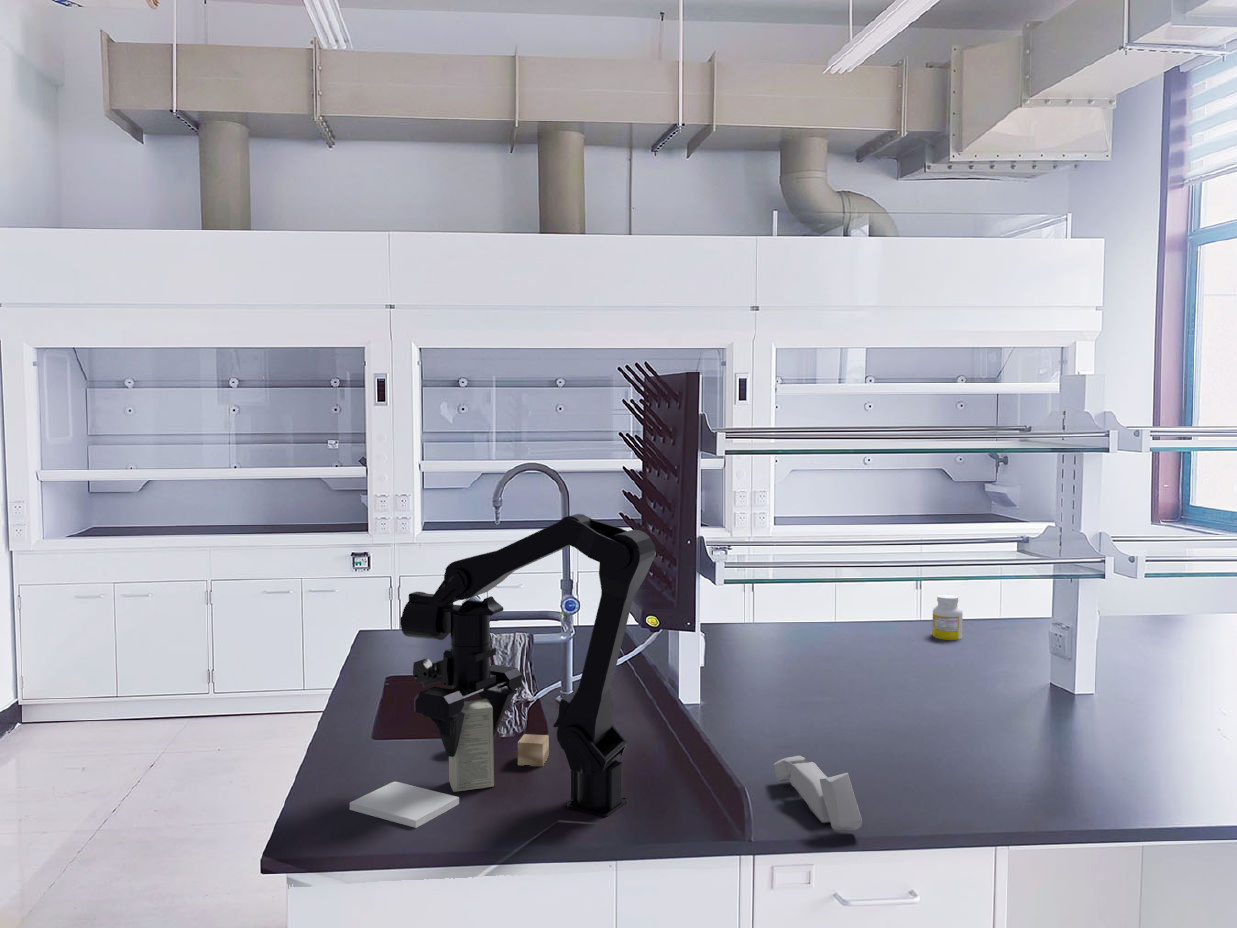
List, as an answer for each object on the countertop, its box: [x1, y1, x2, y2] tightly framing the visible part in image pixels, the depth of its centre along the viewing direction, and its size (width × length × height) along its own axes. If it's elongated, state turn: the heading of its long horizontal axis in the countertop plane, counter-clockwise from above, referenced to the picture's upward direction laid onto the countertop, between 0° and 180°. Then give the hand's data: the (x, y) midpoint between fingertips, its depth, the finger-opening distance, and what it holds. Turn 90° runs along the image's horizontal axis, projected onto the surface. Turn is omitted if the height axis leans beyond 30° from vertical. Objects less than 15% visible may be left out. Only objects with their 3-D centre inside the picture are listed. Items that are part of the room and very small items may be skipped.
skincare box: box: [448, 698, 495, 793], centre depth 142 cm, size 6×4×12 cm
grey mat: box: [349, 781, 460, 829], centre depth 134 cm, size 12×9×1 cm
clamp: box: [773, 755, 863, 832], centre depth 134 cm, size 20×4×7 cm, turn 15°
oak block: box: [517, 733, 550, 767], centre depth 151 cm, size 4×4×4 cm
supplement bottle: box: [931, 594, 964, 641], centre depth 225 cm, size 7×7×13 cm
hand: (471, 746), depth 142 cm, fingers open, 9 cm apart
